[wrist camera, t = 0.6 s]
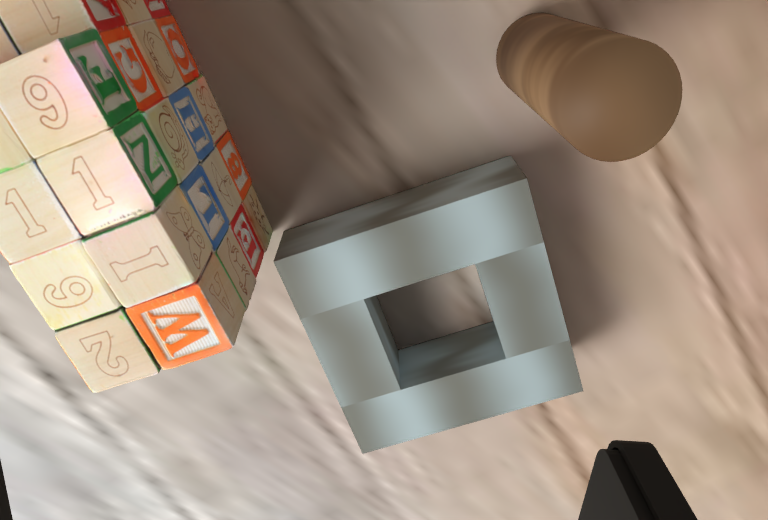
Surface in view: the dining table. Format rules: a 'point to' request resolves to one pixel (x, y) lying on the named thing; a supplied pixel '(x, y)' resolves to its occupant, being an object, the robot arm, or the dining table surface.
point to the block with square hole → (417, 263)
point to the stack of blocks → (121, 188)
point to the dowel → (592, 84)
